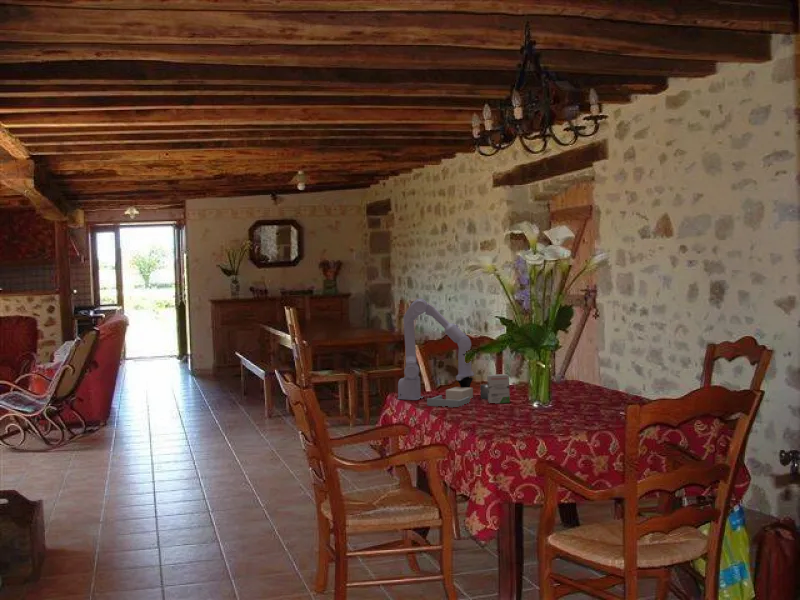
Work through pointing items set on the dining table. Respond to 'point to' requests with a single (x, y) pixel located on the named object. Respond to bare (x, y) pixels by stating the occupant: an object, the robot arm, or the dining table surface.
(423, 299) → the robot arm
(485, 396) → the grey glossy ball
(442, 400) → the display stand
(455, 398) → the carton
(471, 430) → the dining table surface
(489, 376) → the ink box
